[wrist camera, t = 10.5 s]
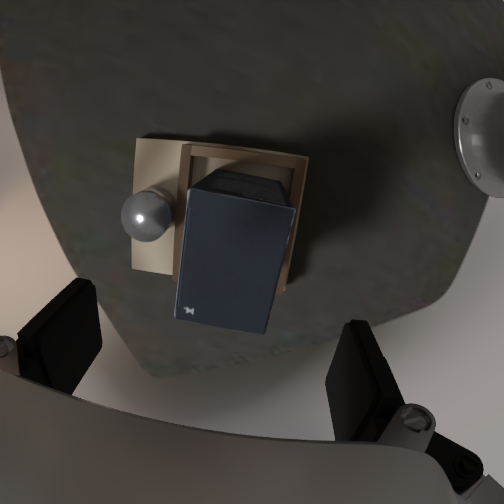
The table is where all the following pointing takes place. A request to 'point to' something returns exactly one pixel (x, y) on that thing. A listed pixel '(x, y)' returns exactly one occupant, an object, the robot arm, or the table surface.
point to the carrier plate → (175, 194)
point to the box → (232, 250)
